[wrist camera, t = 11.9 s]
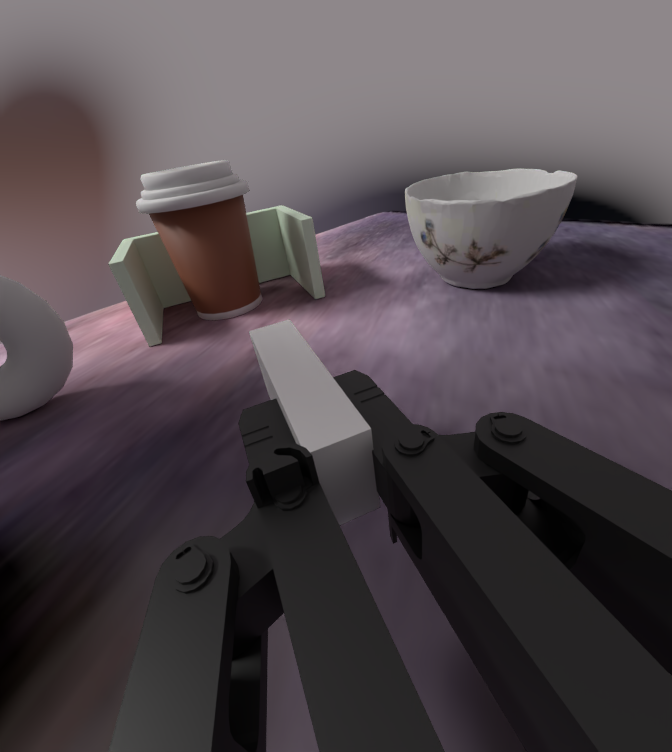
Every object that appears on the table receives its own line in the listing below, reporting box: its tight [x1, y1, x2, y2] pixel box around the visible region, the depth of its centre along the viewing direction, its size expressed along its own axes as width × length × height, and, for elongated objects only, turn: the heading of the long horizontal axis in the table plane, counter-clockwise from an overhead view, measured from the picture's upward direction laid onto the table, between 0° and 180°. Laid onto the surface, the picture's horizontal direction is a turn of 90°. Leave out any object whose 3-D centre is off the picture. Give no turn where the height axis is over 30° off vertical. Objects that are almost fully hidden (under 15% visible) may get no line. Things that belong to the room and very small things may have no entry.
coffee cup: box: [136, 160, 262, 320], centre depth 32 cm, size 9×9×12 cm
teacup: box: [405, 169, 577, 289], centre depth 31 cm, size 15×12×8 cm
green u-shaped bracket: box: [108, 206, 325, 347], centre depth 34 cm, size 16×10×7 cm, turn 111°
